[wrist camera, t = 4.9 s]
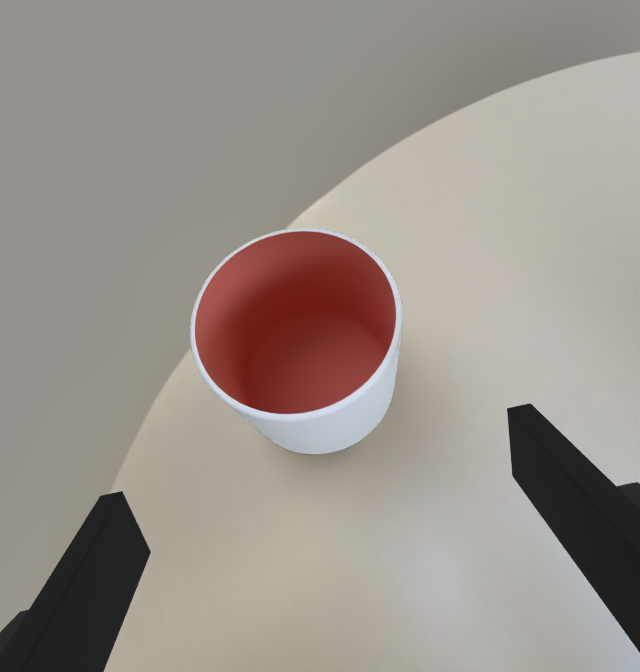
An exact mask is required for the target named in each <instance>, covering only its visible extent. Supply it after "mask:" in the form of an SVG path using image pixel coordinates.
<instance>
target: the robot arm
mask: <svg viewBox="0 0 640 672" xmlns="http://www.w3.org/2000/svg"><path fill="white" fill-rule="evenodd" d="M507 412H508V424H509V437H510V450H511V462H512V475H513V477H514V479H515V480H516V482H517V483H518V484H519V486H520V487H521V488H522V490H523V491H524V493H525V494H526V495H527V497H528V498H529V500H530V501H531V502H532V504H533V505H534V506H535V508H536V509H537V511H538V512H539V513H540V515H541V516H542V518H543V519H544V520H545V522H546V523H547V525H548V526H549V527H550V529H551V530H552V531H553V533H554V534H555V536H556V537H557V538H558V540H559V541H560V543H561V544H562V545H563V547H564V548H565V549H566V551H567V552H568V554H569V555H570V556H571V558H572V559H573V561H574V562H575V563H576V565H577V566H578V568H579V569H580V570H581V572H582V573H583V574H584V576H585V577H586V579H587V580H588V581H589V583H590V584H591V586H592V587H593V588H594V590H595V591H596V592H597V594H598V595H599V597H600V598H601V599H602V601H603V602H604V604H605V605H606V606H607V608H608V609H609V611H610V612H611V613H612V615H613V616H614V617H615V619H616V620H617V622H618V623H619V624H620V626H621V627H622V629H623V630H624V631H625V633H626V634H627V635H628V637H629V638H630V640H631V641H632V642H633V644H634V645H635V647H636V648H637V649H638V651H639V652H640V484H639V483H637V482H635V483H631V484H626V485H621V486H615V485H614V484H613V483H612V482H611V481H610V480H609V479H608V478H607V477H606V476H605V475H604V474H603V473H602V472H601V471H600V470H599V469H598V468H597V467H596V466H595V465H594V464H593V463H592V462H590V461H589V460H588V459H587V458H586V457H585V456H584V455H583V454H582V453H581V452H580V451H579V450H578V449H577V448H576V447H575V446H574V445H573V444H572V443H571V442H570V441H569V440H568V439H567V438H566V437H565V436H564V435H563V434H562V433H560V432H559V431H558V430H557V429H556V428H555V427H554V426H553V425H552V424H551V423H550V422H549V421H548V420H547V419H546V418H545V417H544V416H543V415H542V414H541V413H540V412H539V411H538V410H537V409H536V408H535V407H534V406H533V405H531V404H526V405H521V406H516V407H512V408H507ZM150 553H151V552H150V549H149V547H148V545H147V543H146V541H145V539H144V537H143V535H142V532H141V530H140V528H139V526H138V524H137V522H136V520H135V517H134V515H133V513H132V511H131V509H130V507H129V505H128V503H127V500H126V498H125V496H124V494H123V492H122V491H121V492H117V493H112V494H107V495H103V496H100V497H99V499H98V501H97V502H96V504H95V506H94V507H93V509H92V510H91V512H90V513H89V515H88V517H87V518H86V520H85V521H84V523H83V525H82V526H81V528H80V529H79V531H78V533H77V534H76V536H75V537H74V539H73V541H72V542H71V544H70V545H69V547H68V549H67V550H66V552H65V553H64V555H63V557H62V558H61V560H60V562H59V563H58V565H57V566H56V568H55V569H54V571H53V572H52V574H51V576H50V577H49V579H48V580H47V582H46V584H45V585H44V587H43V588H42V590H41V592H40V593H39V595H38V596H37V598H36V600H35V601H34V603H33V605H32V606H31V608H30V609H29V610H26V611H21V612H19V613H18V614H17V616H16V617H15V618H14V619H13V620H12V621H11V622H10V623H9V624H8V625H7V626H6V627H5V628H4V629H3V630H2V631H1V632H0V672H103V671H104V669H105V666H106V664H107V661H108V659H109V656H110V654H111V651H112V649H113V646H114V643H115V641H116V638H117V636H118V633H119V631H120V628H121V626H122V623H123V621H124V618H125V616H126V613H127V611H128V608H129V606H130V603H131V601H132V598H133V596H134V593H135V591H136V588H137V586H138V583H139V581H140V578H141V575H142V573H143V570H144V568H145V565H146V563H147V560H148V558H149V555H150Z"/></svg>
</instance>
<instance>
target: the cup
mask: <svg viewBox="0 0 640 672" xmlns="http://www.w3.org/2000/svg"><path fill="white" fill-rule="evenodd" d="M402 322H403V313H402V304H401V298H400V295H399V291H398V288H397V286H396V283H395V281H394V279H393V277H392V275H391V273H390V272H389V270H388V269H387V267H386V266H385V265H384V263H383V262H382V261H381V260H380V259H379V258H378V257H377V256H376V255H375V254H374V253H373V252H372V251H371V250H369V249H368V248H367V247H365V246H364V245H362V244H361V243H359V242H357V241H356V240H354V239H352V238H350V237H347V236H345V235H342V234H339V233H336V232H333V231H328V230H323V229H315V228H294V229H286V230H281V231H276V232H273V233H269V234H266V235H263V236H261V237H258V238H256V239H254V240H252V241H250V242H248V243H246V244H244V245H243V246H241V247H240V248H238V249H237V250H235V251H234V252H232V253H231V254H230V255H229V256H227V257H226V258H225V259H224V260H223V261H222V262H221V263H220V264H219V265H218V266H217V267H216V268H215V269H214V270H213V272H212V273H211V274H210V276H209V277H208V278H207V280H206V281H205V283H204V285H203V286H202V288H201V290H200V292H199V294H198V297H197V299H196V301H195V305H194V308H193V311H192V317H191V323H190V342H191V349H192V354H193V357H194V360H195V363H196V366H197V368H198V370H199V372H200V374H201V376H202V378H203V379H204V381H205V382H206V384H207V385H208V386H209V387H210V389H211V390H212V391H213V392H214V393H215V394H216V395H217V396H218V397H219V398H220V399H221V400H223V401H224V402H225V403H226V404H227V405H229V406H230V407H231V408H232V409H233V410H234V411H236V412H237V413H238V414H239V415H240V416H242V417H243V418H244V419H245V420H246V421H247V422H249V423H250V424H251V425H252V426H253V427H255V428H256V429H257V430H258V431H259V432H260V433H262V434H263V435H264V436H265V437H267V438H268V439H269V440H271V441H272V442H274V443H275V444H277V445H279V446H281V447H283V448H285V449H288V450H291V451H294V452H298V453H304V454H326V453H331V452H336V451H339V450H342V449H345V448H347V447H349V446H352V445H353V444H355V443H357V442H359V441H360V440H361V439H363V438H364V437H365V436H367V435H368V434H369V433H370V432H371V431H372V430H373V429H374V428H375V427H376V426H377V425H378V423H379V422H380V421H381V419H382V418H383V416H384V415H385V413H386V411H387V409H388V407H389V405H390V402H391V400H392V396H393V392H394V387H395V380H396V372H397V364H398V356H399V348H400V341H401V333H402Z"/></svg>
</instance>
